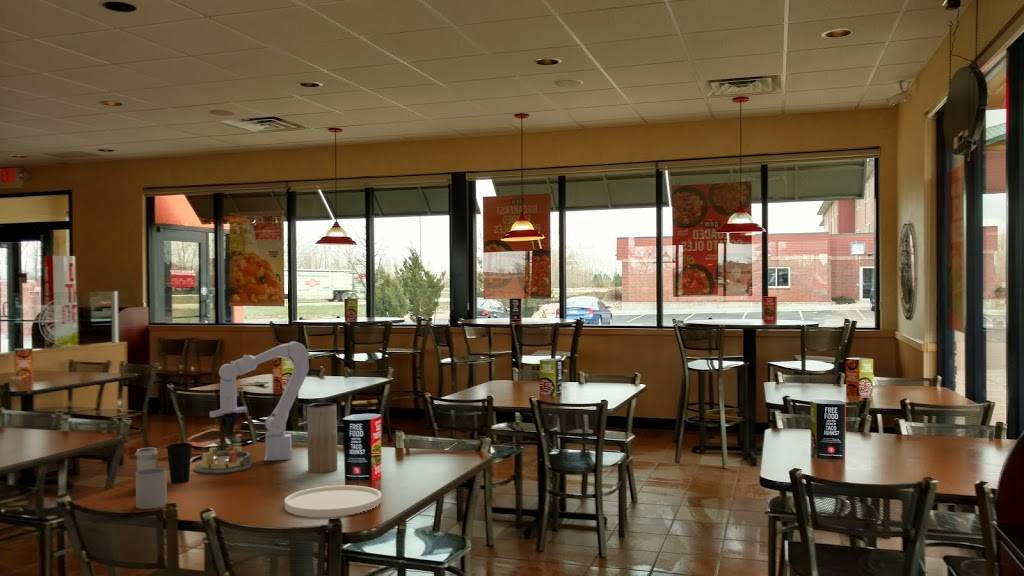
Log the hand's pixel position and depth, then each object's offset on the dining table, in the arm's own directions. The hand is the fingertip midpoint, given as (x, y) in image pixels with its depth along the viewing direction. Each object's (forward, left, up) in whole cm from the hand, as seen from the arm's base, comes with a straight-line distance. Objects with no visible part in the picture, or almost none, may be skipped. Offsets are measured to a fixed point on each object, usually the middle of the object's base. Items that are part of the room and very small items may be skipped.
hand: (229, 434), depth 305 cm
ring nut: (+1, +8, -9) cm, 12 cm away
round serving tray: (+1, +8, -10) cm, 13 cm away
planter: (-34, +20, -11) cm, 41 cm away
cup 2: (+14, +56, -11) cm, 59 cm away
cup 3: (+12, +26, -11) cm, 31 cm away
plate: (-39, +67, -11) cm, 78 cm away
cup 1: (+21, +31, -11) cm, 39 cm away
